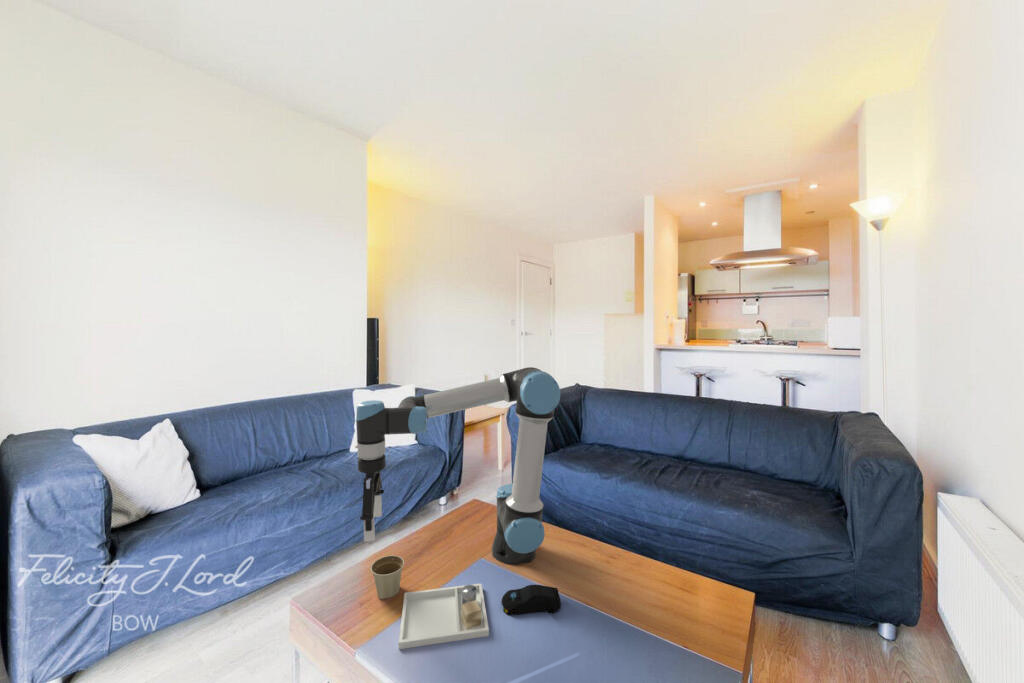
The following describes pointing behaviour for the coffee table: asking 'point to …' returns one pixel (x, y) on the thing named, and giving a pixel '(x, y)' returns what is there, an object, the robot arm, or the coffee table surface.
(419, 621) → the tray
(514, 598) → the toy car
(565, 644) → the coffee table surface
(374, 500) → the robot arm
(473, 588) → the metal part
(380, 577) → the flower pot
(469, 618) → the beech part
